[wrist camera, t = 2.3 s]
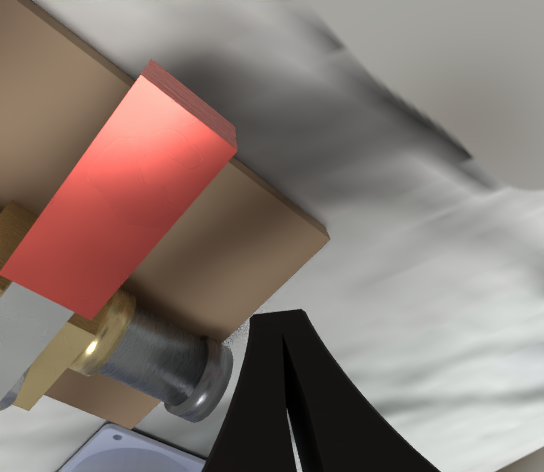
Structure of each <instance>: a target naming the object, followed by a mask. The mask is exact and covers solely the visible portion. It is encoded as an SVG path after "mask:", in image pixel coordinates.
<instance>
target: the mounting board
mask: <svg viewBox="0 0 544 472" xmlns="http://www.w3.org/2000/svg"><path fill="white" fill-rule="evenodd" d="M134 83H135V81H134V80H133V79H132V78H130V77H129V76H128V75H127V74H125V73H124V72H123V71H121V70H120V69H119V68H118V67H116V66H115V65H114V64H112V63H111V62H110V61H108V60H107V59H106V58H105V57H103V56H102V55H101V54H99V53H98V52H97V51H96V50H94V49H93V48H92V47H90V46H89V45H88V44H86V43H85V42H84V41H83V40H81V39H80V38H79V37H77V36H76V35H75V34H73V33H72V32H71V31H70V30H68V29H67V28H66V27H64V26H63V25H62V24H61V23H59V22H58V21H57V20H55V19H54V18H53V17H51V16H50V15H49V14H48V13H46V12H45V11H44V10H42V9H41V8H40V7H39V6H37V5H36V4H35V3H33V2H32V1H31V0H0V213H1V212H2V211H3V210H4V208H5V207H6V206H7V205H8V204H9V203H10V201H11V200H13V201H15V202H16V203H18V204H20V205H22V206H23V207H25V208H27V209H29V210H30V211H32V212H34V213H36V214H37V215H40V214H41V213H42V211H43V210H44V208H45V207H46V206H47V204H48V203H49V202H50V200H51V199H52V197H53V196H54V195H55V193H56V192H57V190H58V189H59V188H60V186H61V185H62V183H63V182H64V181H65V179H66V178H67V176H68V175H69V174H70V172H71V171H72V169H73V168H74V167H75V165H76V164H77V162H78V161H79V160H80V158H81V157H82V155H83V154H84V153H85V151H86V150H87V148H88V147H89V146H90V144H91V143H92V141H93V140H94V139H95V137H96V136H97V134H98V133H99V132H100V130H101V129H102V127H103V126H104V125H105V123H106V122H107V120H108V119H109V118H110V116H111V115H112V113H113V112H114V111H115V109H116V108H117V106H118V105H119V104H120V102H121V101H122V99H123V98H124V97H125V95H126V94H127V92H128V91H129V90H130V88H131V87H132V85H133V84H134ZM329 240H330V237H329V235H328V232H327V230H326V228H325V227H323V226H322V225H321V224H320V223H318V222H317V221H316V220H314V219H313V218H312V217H311V216H309V215H308V214H307V213H305V212H304V211H303V210H301V209H300V208H299V207H298V206H296V205H295V204H294V203H292V202H291V201H290V200H289V199H287V198H286V197H285V196H283V195H282V194H281V193H279V192H278V191H277V190H276V189H274V188H273V187H272V186H270V185H269V184H268V183H266V182H265V181H264V180H263V179H261V178H260V177H259V176H257V175H256V174H255V173H254V172H252V171H251V170H250V169H248V168H247V167H246V166H244V165H243V164H242V163H241V162H239V161H238V160H237V159H235V158H234V157H232V158H231V159H230V160H229V161H228V163H227V164H226V165H225V166H224V167H223V168H222V170H221V171H220V172H219V173H218V174H217V175H216V176H215V178H214V179H213V180H212V181H211V182H210V183H209V185H208V186H207V187H206V188H205V189H204V190H203V191H202V193H201V194H200V195H199V196H198V197H197V198H196V200H195V201H194V202H193V203H192V204H191V205H190V207H189V208H188V209H187V210H186V211H185V212H184V213H183V215H182V216H181V217H180V218H179V219H178V220H177V222H176V223H175V224H174V225H173V226H172V227H171V228H170V230H169V231H168V232H167V233H166V234H165V235H164V237H163V238H162V239H161V240H160V241H159V242H158V244H157V245H156V246H155V247H154V248H153V249H152V250H151V252H150V253H149V254H148V255H147V256H146V257H145V259H144V260H143V261H142V262H141V263H140V264H139V265H138V267H137V268H136V269H135V270H134V271H133V272H132V274H131V275H130V276H129V277H128V278H127V279H126V281H125V282H124V283H123V284H122V285H121V286H120V287H119V288H120V289H122V290H124V291H126V292H128V293H130V294H131V295H133V296H135V297H136V305H137V306H139V307H141V308H143V309H145V310H146V311H148V312H150V313H152V314H154V315H156V316H158V317H159V318H161V319H163V320H165V321H167V322H169V323H171V324H173V325H174V326H176V327H178V328H180V329H182V330H184V331H186V332H187V333H189V334H191V335H193V336H195V337H197V338H200V337H201V336H203V335H205V336H208V337H210V338H212V339H214V340H216V341H218V342H219V343H222V342H223V341H224V340H226V339H227V338H228V337H229V336H230V335H231V334H232V333H233V332H234V331H235V330H236V329H237V328H238V327H239V326H240V325H241V324H242V323H243V322H244V321H245V320H247V319H248V318H249V317H250V316H251V315H252V314H253V313H254V312H255V311H256V310H257V309H258V308H259V307H260V306H261V305H262V304H263V303H264V302H265V301H266V300H267V299H269V298H270V297H271V296H272V295H273V294H274V293H275V292H276V291H277V290H278V289H279V288H280V287H281V286H282V285H283V284H284V283H285V282H286V281H287V280H288V279H289V278H291V277H292V276H293V275H294V274H295V273H296V272H297V271H298V270H299V269H300V268H301V267H302V266H303V265H304V264H305V263H306V262H307V261H308V260H309V259H310V258H311V257H313V256H314V255H315V254H316V253H317V252H318V251H319V250H320V249H321V248H322V247H323V246H324V245H325V244H326V243H327V242H328V241H329ZM44 395H46V396H48V397H51V398H53V399H56V400H58V401H61V402H63V403H66V404H68V405H71V406H73V407H76V408H78V409H81V410H83V411H86V412H88V413H90V414H93V415H95V416H98V417H100V418H103V419H105V420H108V421H110V422H113V423H115V424H118V425H120V426H123V427H125V428H128V429H130V430H131V429H132V428H133V427H134V426H135V425H136V424H138V423H139V422H140V421H141V420H142V419H143V418H144V417H145V416H146V415H147V414H148V413H149V412H150V411H151V410H152V409H153V408H154V407H155V406H156V405H157V404H158V403H160V402H161V401H160V400H158V399H156V398H154V397H151V396H149V395H147V394H145V393H142V392H140V391H138V390H136V389H134V388H131V387H129V386H127V385H125V384H122V383H120V382H118V381H116V380H113V379H111V378H109V377H107V376H105V375H102V374H100V373H98V372H97V373H95V374H94V375H92V376H90V377H88V376H86V375H83V374H81V373H79V372H76V371H74V370H72V369H70V368H67V369H66V370H65V371H64V372H63V373H62V374H61V375H60V377H59V378H58V379H57V380H56V381H55V382H54V383H53V384H52V386H51V387H50V388H49V389H48V390H47V391H46V392H45V393H44Z"/></svg>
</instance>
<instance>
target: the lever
mask: <svg viewBox="0 0 544 472" xmlns="http://www.w3.org/2000/svg"><path fill="white" fill-rule="evenodd" d="M237 151H238V148H237V139H236V130H235V126H234V125H232V124H231V123H230V122H229V121H228V120H226V119H225V118H224V117H223V116H221V115H220V114H219V113H218V112H216V111H215V110H214V109H213V108H211V107H210V106H209V105H208V104H207V103H205V102H204V101H203V100H202V99H200V98H199V97H198V96H197V95H195V94H194V93H193V92H192V91H190V90H189V89H188V88H187V87H186V86H184V85H183V84H182V83H181V82H179V81H178V80H177V79H176V78H174V77H173V76H172V75H171V74H169V73H168V72H167V71H166V70H165V69H163V68H162V67H161V66H160V65H158V64H157V63H156V62H155V61H153V60H152V59H151V60H150V62H149V63H148V64H147V66H146V67H145V69H144V70H143V71H142V73H141V74H140V76H139V77H138V78H137V80H136V81H135V83H134V84H133V85H132V87H131V88H130V90H129V91H128V92H127V94H126V95H125V97H124V98H123V99H122V101H121V102H120V104H119V105H118V106H117V108H116V109H115V111H114V112H113V113H112V115H111V116H110V118H109V119H108V120H107V122H106V123H105V125H104V126H103V127H102V129H101V130H100V132H99V133H98V134H97V136H96V137H95V139H94V140H93V141H92V143H91V144H90V146H89V147H88V148H87V150H86V151H85V153H84V154H83V155H82V157H81V158H80V160H79V161H78V162H77V164H76V165H75V167H74V168H73V169H72V171H71V172H70V174H69V175H68V176H67V178H66V179H65V181H64V182H63V183H62V185H61V186H60V188H59V189H58V190H57V192H56V193H55V195H54V196H53V197H52V199H51V200H50V202H49V203H48V204H47V206H46V207H45V208H44V210H43V211H42V213H41V214H40V215H39V217H38V218H37V220H36V221H35V222H34V224H33V225H32V227H31V228H30V229H29V231H28V232H27V234H26V235H25V236H24V238H23V239H22V241H21V242H20V244H19V245H18V246H17V248H16V249H15V251H14V252H13V254H12V255H11V256H10V258H9V259H8V261H7V262H6V264H5V265H4V266H3V268H2V269H1V271H0V275H1V276H3V277H5V278H7V279H9V280H11V282H10V283H9V285H8V286H7V287H6V289H5V290H4V291H3V293H2V294H1V295H0V411H1V410H4V409H5V408H7V407H9V406H10V405H11V404H12V403H14V401H15V400H16V398H17V396H18V394H19V391H20V389H21V387H22V385H23V383H24V381H25V378H26V376H27V374H28V372H29V370H30V367H31V365H32V363H33V362H34V360H35V359H36V358H37V357H38V356H39V354H40V353H41V352H42V351H43V350H44V349H45V347H46V346H47V345H48V344H49V343H50V341H51V340H52V339H53V338H54V337H55V335H56V334H57V333H58V332H59V331H60V329H61V328H62V327H63V326H64V325H65V323H66V322H67V321H68V320H69V319H70V317H71V316H72V315H73V314H74V313H77V314H79V315H81V316H83V317H85V318H87V319H89V320H92V319H93V317H94V316H95V315H96V314H97V313H98V312H99V311H100V309H101V308H102V307H103V306H104V305H105V304H106V302H107V301H108V300H109V299H110V298H111V297H112V296H113V294H114V293H115V292H116V291H117V290H118V289H119V287H120V286H121V285H122V284H123V283H124V282H125V281H126V279H127V278H128V277H129V276H130V275H131V274H132V272H133V271H134V270H135V269H136V268H137V267H138V265H139V264H140V263H141V262H142V261H143V260H144V259H145V257H146V256H147V255H148V254H149V253H150V252H151V250H152V249H153V248H154V247H155V246H156V245H157V244H158V242H159V241H160V240H161V239H162V238H163V237H164V235H165V234H166V233H167V232H168V231H169V230H170V228H171V227H172V226H173V225H174V224H175V223H176V222H177V220H178V219H179V218H180V217H181V216H182V215H183V213H184V212H185V211H186V210H187V209H188V208H189V207H190V205H191V204H192V203H193V202H194V201H195V200H196V198H197V197H198V196H199V195H200V194H201V193H202V191H203V190H204V189H205V188H206V187H207V186H208V185H209V183H210V182H211V181H212V180H213V179H214V178H215V176H216V175H217V174H218V173H219V172H220V171H221V170H222V168H223V167H224V166H225V165H226V164H227V163H228V161H229V160H230V159H231V158H232V157H233V156H234V154H235V153H236V152H237Z"/></svg>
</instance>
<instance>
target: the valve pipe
mask: <svg viewBox="0 0 544 472" xmlns="http://www.w3.org/2000/svg"><path fill="white" fill-rule="evenodd" d="M38 217H39V215H37V214H36V213H34V212H32V211H30V210H29V209H27V208H25V207H23V206H22V205H20V204H18V203H16V202H15V201H13V200H11V201H10V203H9V204H8V205H7V206H6V207H5V208H4V210H3V211H2V212H1V213H0V271H1V269H2V268H3V266H4V265H5V264H6V262H7V261H8V259H9V258H10V256H11V255H12V254H13V252H14V251H15V249H16V248H17V246H18V245H19V244H20V242H21V241H22V239H23V238H24V236H25V235H26V234H27V232H28V231H29V229H30V228H31V227H32V225H33V224H34V222H35V221H36V220H37V218H38ZM10 282H11V280H9V279H7V278H5V277H3V276H1V275H0V295H1V294H2V293H3V291H4V290H5V289H6V287H7V286H8V285H9V283H10ZM67 368H70V369H72V370H74V371H76V372H79V373H81V374H83V375H86V376H88V377H90V376H92V375H94V374H95V373H97V372H98V373H100V374H102V375H105V376H107V377H109V378H111V379H113V380H116V381H118V382H120V383H122V384H125V385H127V386H129V387H131V388H134V389H136V390H138V391H140V392H142V393H145V394H147V395H149V396H151V397H154V398H156V399H158V400H160V401H163V402H164V404H165V408H166V410H167V411H168V412H170V413H172V414H174V415H176V416H179V417H181V418H183V419H186V420H188V421H190V422H194V423H195V422H199V421H201V420H203V419H204V418H206V417H207V416H208V415H209V414H210V413H211V412H212V411H213V410H214V408H215V407H216V406H217V404H218V403H219V401H220V400H221V398H222V396H223V394H224V392H225V390H226V388H227V386H228V383H229V380H230V377H231V373H232V368H233V356H232V352H231V350H230V349H229V348H228V347H227V346H225V345H223V344H221V343H219V342H218V341H216V340H214V339H212V338H210V337H208V336H205V335H203V336H201V337H200V338H197V337H195V336H193V335H191V334H189V333H187V332H186V331H184V330H182V329H180V328H178V327H176V326H174V325H173V324H171V323H169V322H167V321H165V320H163V319H161V318H159V317H158V316H156V315H154V314H152V313H150V312H148V311H146V310H145V309H143V308H141V307H139V306H137V305H136V297H135V296H133V295H131V294H130V293H128V292H126V291H124V290H122V289H120V288H119V289H118V290H117V291H116V292H115V293H114V294H113V296H112V297H111V298H110V299H109V300H108V301H107V302H106V304H105V305H104V306H103V307H102V308H101V309H100V311H99V312H98V313H97V314H96V315H95V316H94V317H93V319H92V320H89V319H87V318H85V317H83V316H81V315H79V314H77V313H74V314H73V315H72V316H71V317H70V319H69V320H68V321H67V322H66V323H65V325H64V326H63V327H62V328H61V329H60V331H59V332H58V333H57V334H56V335H55V337H54V338H53V339H52V340H51V341H50V343H49V344H48V345H47V346H46V347H45V349H44V350H43V351H42V352H41V353H40V354H39V356H38V357H37V358H36V359H35V360H34V362H33V363H32V365H31V367H30V370H29V372H28V374H27V376H26V378H25V381H24V383H23V385H22V387H21V389H20V391H19V394H18V396H17V398H16V400H15V401H14V403H12V405H15V406H18V407H20V408H23V409H25V410H28V411H29V410H30V409H31V408H32V407H33V406H34V405H35V404H36V403H37V401H38V400H39V399H40V398H41V397H42V396H43V395H44V393H45V392H46V391H47V390H48V389H49V388H50V387H51V386H52V384H53V383H54V382H55V381H56V380H57V379H58V378H59V377H60V375H61V374H62V373H63V372H64V371H65V370H66V369H67Z"/></svg>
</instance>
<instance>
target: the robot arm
mask: <svg viewBox="0 0 544 472" xmlns="http://www.w3.org/2000/svg"><path fill="white" fill-rule="evenodd" d="M287 410H288V414H289V418H290V422H291V426H292V431H293V435H294V439H295V443H296V447H297V451H298V455H299V459H300V463H301V467H302V471H303V472H441V471H439V470H438V469H437V468H436V467H435V466H434V465H432V464H431V463H430V462H429V461H428V460H427V459H426V458H424V457H423V456H422V455H421V454H420V453H419V452H417V451H416V450H415V449H414V448H413V447H412V446H411V445H410V444H409V443H408V442H407V441H406V440H405V439H404V438H403V437H402V436H401V435H400V434H399V433H398V432H397V431H396V430H395V429H394V428H393V427H392V426H391V425H390V424H389V423H388V422H387V421H386V420H385V419H384V418H383V417H382V416H381V415H380V414H379V413H378V412H377V411H376V410H375V408H374V407H373V406H372V405H371V404H370V403H369V402H368V401H367V399H366V398H365V397H364V396H363V395H362V394H361V392H360V391H359V390H358V389H357V388H356V386H355V385H354V384H353V383H352V381H351V380H350V379H349V378H348V376H347V375H346V374H345V373H344V371H343V370H342V368H341V367H340V366H339V364H338V363H337V362H336V360H335V359H334V358H333V356H332V355H331V354H330V352H329V351H328V349H327V348H326V346H325V345H324V343H323V342H322V340H321V339H320V337H319V335H318V334H317V332H316V331H315V329H314V327H313V325H312V324H311V322H310V320H309V318H308V316H307V314H306V312H305V311H303V310H302V309H297V310H289V311H280V312H271V313H262V314H254V315H253V316H252V317H251V318H250V328H249V337H248V343H247V348H246V352H245V357H244V361H243V365H242V368H241V372H240V376H239V379H238V383H237V386H236V389H235V392H234V394H233V397H232V400H231V403H230V406H229V409H228V412H227V414H226V417H225V419H224V422H223V425H222V427H221V429H220V432H219V434H218V437H217V439H216V441H215V443H214V446H213V448H212V450H211V452H210V454H209V457H208V459H207V461H205V460H203V459H200V458H198V457H195V456H193V455H190V454H188V453H185V452H183V451H180V450H178V449H175V448H173V447H171V446H168V445H166V444H163V443H161V442H158V441H156V440H153V439H151V438H148V437H146V436H143V435H141V434H138V433H136V432H133V431H131V430H128V429H126V428H123V427H121V426H118V425H116V424H106V425H105V426H103V427H102V428H101V429H100V430H99V431H98V432H97V433H96V434H95V435H94V436H93V437H92V438H91V439H90V440H89V441H88V442H87V443H86V444H85V445H84V446H83V447H82V448H81V449H80V450H79V451H78V452H77V453H76V454H75V455H74V456H73V457H72V458H71V459H70V460H69V461H68V462H67V463H66V464H65V465H64V466H63V467H62V468H61V469H60V470H59V471H58V472H297V469H296V464H295V458H294V453H293V447H292V441H291V435H290V430H289V424H288V418H287Z"/></svg>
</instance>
